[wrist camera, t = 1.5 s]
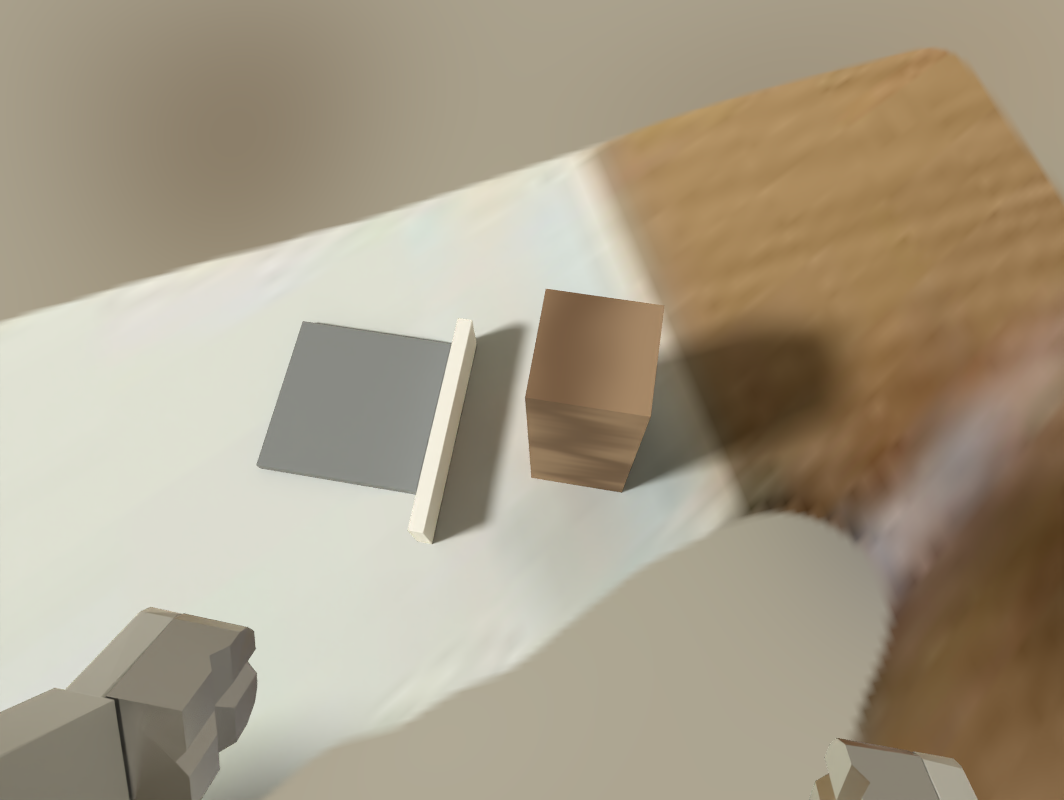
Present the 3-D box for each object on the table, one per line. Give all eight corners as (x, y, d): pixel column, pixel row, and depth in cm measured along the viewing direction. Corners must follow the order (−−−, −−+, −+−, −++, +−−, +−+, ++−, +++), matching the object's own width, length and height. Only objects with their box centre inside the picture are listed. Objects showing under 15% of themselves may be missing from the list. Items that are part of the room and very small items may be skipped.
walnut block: (632, 407, 42) (664, 305, 30) (621, 492, 40) (650, 416, 29) (546, 394, 42) (545, 288, 31) (531, 477, 40) (525, 397, 29)
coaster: (452, 347, 43) (450, 343, 43) (417, 494, 40) (415, 491, 39) (305, 325, 44) (302, 321, 43) (260, 468, 41) (256, 465, 40)
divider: (476, 343, 43) (471, 320, 40) (432, 544, 39) (423, 533, 36) (463, 341, 43) (457, 318, 40) (417, 541, 39) (407, 530, 36)
